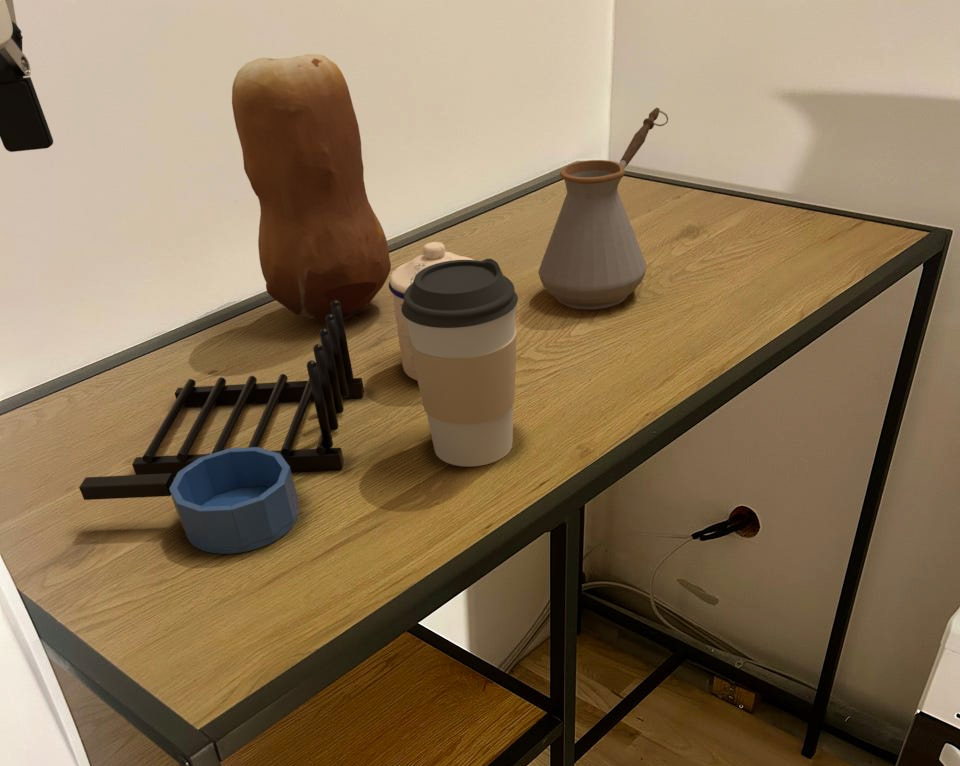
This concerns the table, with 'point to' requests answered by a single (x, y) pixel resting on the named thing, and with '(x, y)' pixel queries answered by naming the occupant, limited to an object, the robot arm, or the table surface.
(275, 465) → the saucepan
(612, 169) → the coffee pot
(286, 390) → the dish rack
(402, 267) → the teacup with lid
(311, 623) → the table surface
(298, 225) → the butternut squash
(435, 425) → the coffee cup
